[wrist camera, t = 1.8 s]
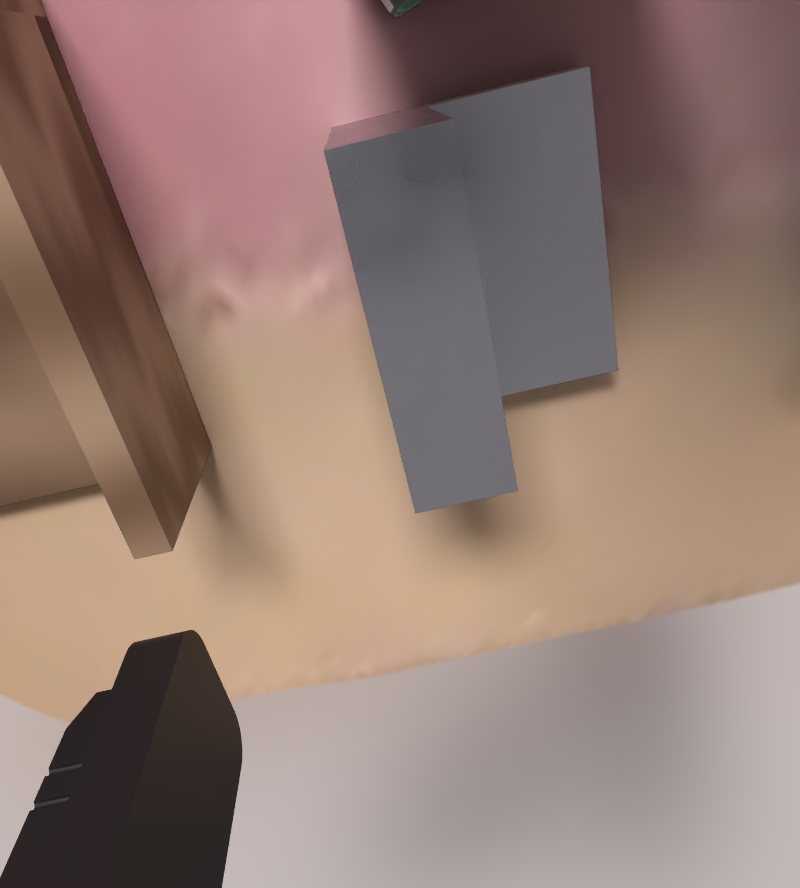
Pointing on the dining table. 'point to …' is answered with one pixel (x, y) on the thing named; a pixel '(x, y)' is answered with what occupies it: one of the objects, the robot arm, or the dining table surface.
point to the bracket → (476, 267)
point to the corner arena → (80, 315)
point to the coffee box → (399, 6)
